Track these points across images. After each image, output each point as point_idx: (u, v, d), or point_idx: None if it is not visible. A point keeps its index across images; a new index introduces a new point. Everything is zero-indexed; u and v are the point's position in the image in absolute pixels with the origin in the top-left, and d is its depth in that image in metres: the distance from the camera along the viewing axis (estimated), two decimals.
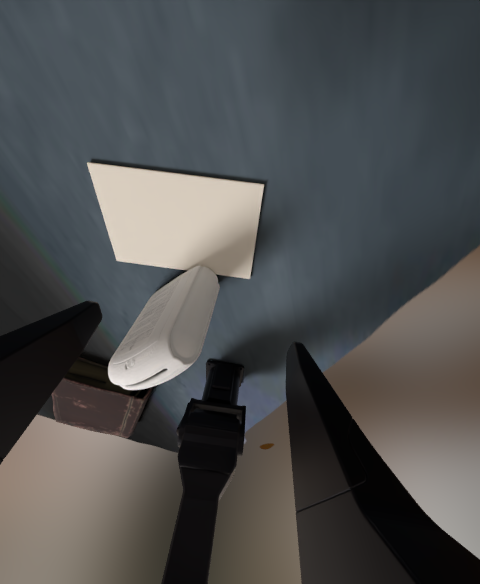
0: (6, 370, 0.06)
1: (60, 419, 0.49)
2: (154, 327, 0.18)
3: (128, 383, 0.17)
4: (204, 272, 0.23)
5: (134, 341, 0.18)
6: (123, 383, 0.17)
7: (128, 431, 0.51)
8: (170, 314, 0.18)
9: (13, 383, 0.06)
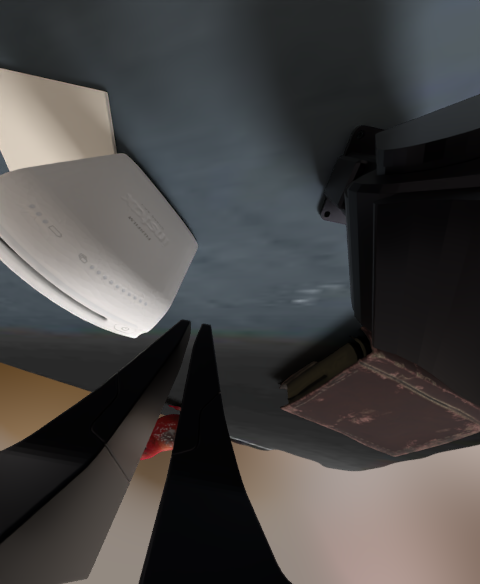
0: (146, 397, 0.06)
1: (392, 451, 0.36)
2: None
3: (66, 308, 0.10)
4: None
5: None
6: (78, 316, 0.11)
7: None
8: None
9: (147, 408, 0.06)
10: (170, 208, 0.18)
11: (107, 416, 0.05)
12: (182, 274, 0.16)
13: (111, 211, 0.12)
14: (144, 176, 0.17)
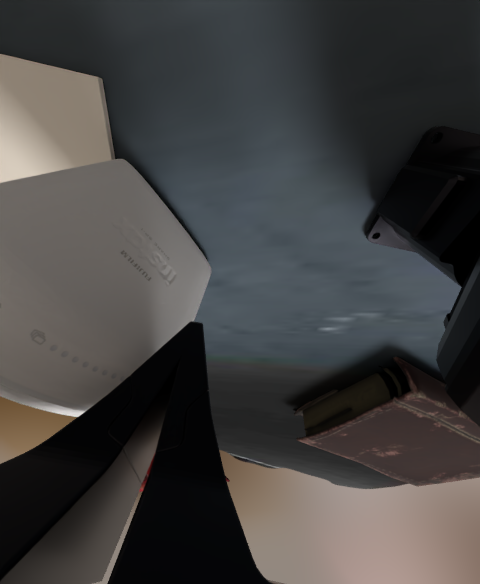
0: (159, 399, 0.06)
1: (415, 481, 0.33)
2: None
3: (18, 402, 0.07)
4: None
5: None
6: (38, 408, 0.07)
7: None
8: None
9: (159, 411, 0.06)
10: (179, 227, 0.15)
11: (123, 419, 0.05)
12: (191, 318, 0.12)
13: (94, 247, 0.08)
14: (147, 188, 0.13)
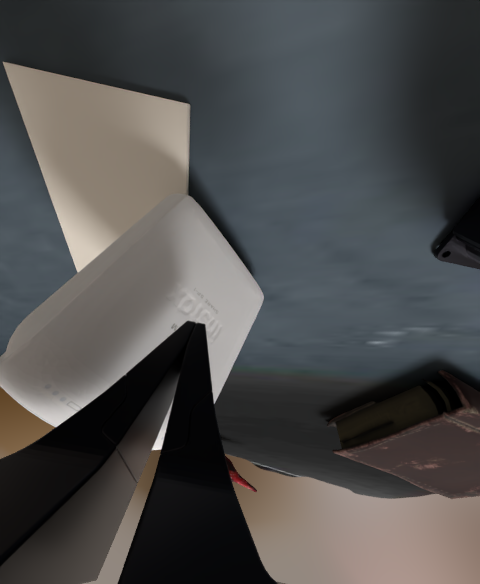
0: (155, 398, 0.06)
1: (450, 493, 0.33)
2: None
3: None
4: None
5: None
6: None
7: None
8: None
9: (155, 410, 0.06)
10: (236, 264, 0.14)
11: (117, 418, 0.05)
12: (230, 365, 0.13)
13: (148, 332, 0.09)
14: (208, 228, 0.12)
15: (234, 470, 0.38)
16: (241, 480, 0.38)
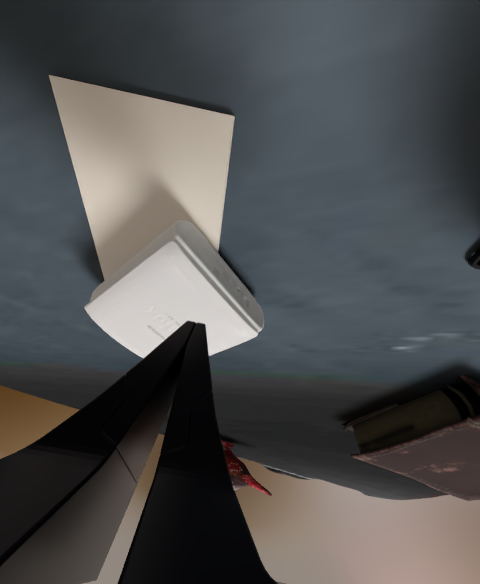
0: (155, 398, 0.06)
1: (466, 496, 0.33)
2: None
3: None
4: None
5: None
6: None
7: None
8: None
9: (155, 410, 0.06)
10: (217, 306, 0.14)
11: (117, 418, 0.05)
12: None
13: (133, 323, 0.16)
14: (186, 273, 0.13)
15: (249, 474, 0.38)
16: (255, 483, 0.38)
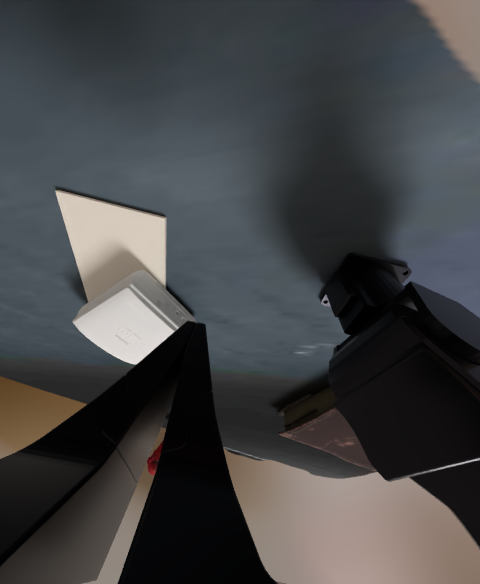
0: (155, 398, 0.06)
1: (372, 466, 0.43)
2: None
3: None
4: None
5: None
6: None
7: None
8: None
9: (154, 410, 0.06)
10: (158, 324, 0.22)
11: (117, 418, 0.05)
12: None
13: (106, 333, 0.24)
14: (137, 306, 0.21)
15: None
16: None
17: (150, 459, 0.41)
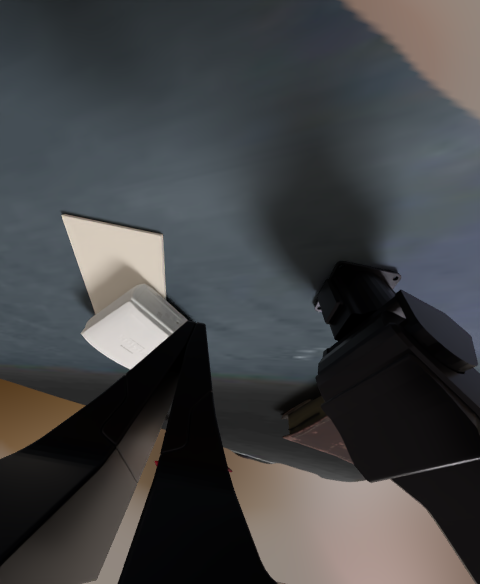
0: (155, 398, 0.06)
1: None
2: None
3: None
4: None
5: None
6: None
7: None
8: None
9: (155, 410, 0.06)
10: (159, 334, 0.23)
11: (117, 418, 0.05)
12: None
13: (111, 343, 0.25)
14: (138, 318, 0.22)
15: None
16: None
17: None
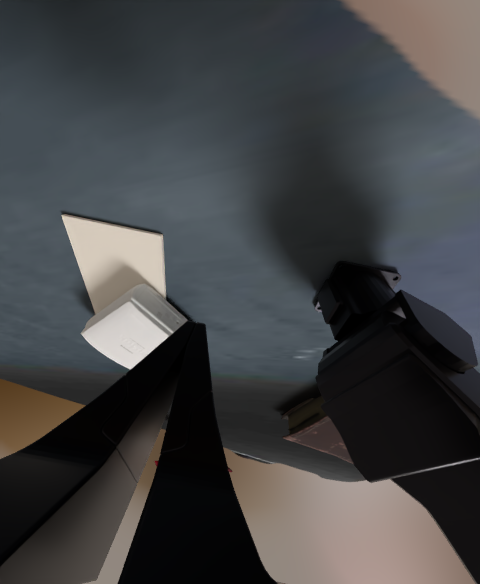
0: (155, 398, 0.06)
1: None
2: None
3: None
4: None
5: None
6: None
7: None
8: None
9: (155, 410, 0.06)
10: (159, 334, 0.23)
11: (117, 418, 0.05)
12: None
13: (111, 343, 0.25)
14: (138, 318, 0.22)
15: None
16: None
17: None
